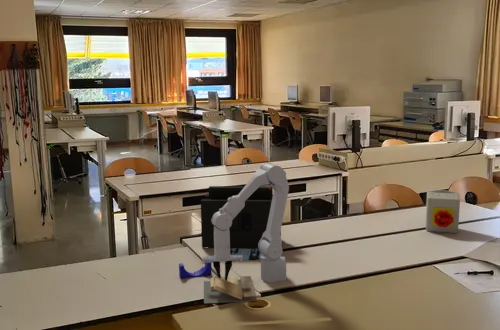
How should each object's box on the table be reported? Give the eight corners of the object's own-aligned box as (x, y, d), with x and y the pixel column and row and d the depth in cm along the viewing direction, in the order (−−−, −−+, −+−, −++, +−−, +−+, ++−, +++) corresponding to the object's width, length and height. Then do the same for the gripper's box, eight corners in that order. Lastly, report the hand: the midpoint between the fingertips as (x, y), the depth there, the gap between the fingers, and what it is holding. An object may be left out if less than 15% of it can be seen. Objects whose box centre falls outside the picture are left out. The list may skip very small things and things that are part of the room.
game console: (280, 239, 251) (280, 184, 247) (278, 261, 222) (277, 198, 217) (207, 238, 255) (206, 183, 250) (195, 259, 225) (193, 197, 221)
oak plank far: (237, 280, 199) (237, 276, 199) (238, 288, 190) (238, 285, 190) (210, 281, 198) (210, 277, 198) (210, 290, 190) (210, 286, 189)
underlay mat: (251, 281, 200) (251, 279, 200) (257, 302, 180) (257, 300, 180) (203, 283, 198) (203, 281, 198) (204, 305, 179) (203, 303, 178)
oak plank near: (239, 289, 188) (241, 286, 188) (241, 299, 180) (243, 296, 180) (213, 279, 187) (215, 276, 187) (214, 289, 179) (215, 285, 178)
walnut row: (250, 279, 199) (250, 275, 199) (255, 300, 180) (255, 296, 180) (240, 280, 199) (239, 276, 199) (244, 300, 180) (243, 296, 180)
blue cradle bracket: (209, 273, 209) (208, 259, 208) (211, 277, 205) (211, 262, 204) (178, 277, 206) (178, 262, 205) (180, 281, 201) (180, 266, 200)
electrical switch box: (425, 238, 257) (427, 199, 251) (425, 226, 270) (427, 189, 264) (458, 240, 252) (461, 201, 246) (456, 228, 266) (458, 190, 260)
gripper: (201, 249, 187) (203, 286, 189) (243, 247, 188) (243, 284, 191) (201, 243, 194) (202, 279, 196) (241, 241, 195) (242, 277, 197)
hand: (223, 281), depth 194 cm, fingers closed
